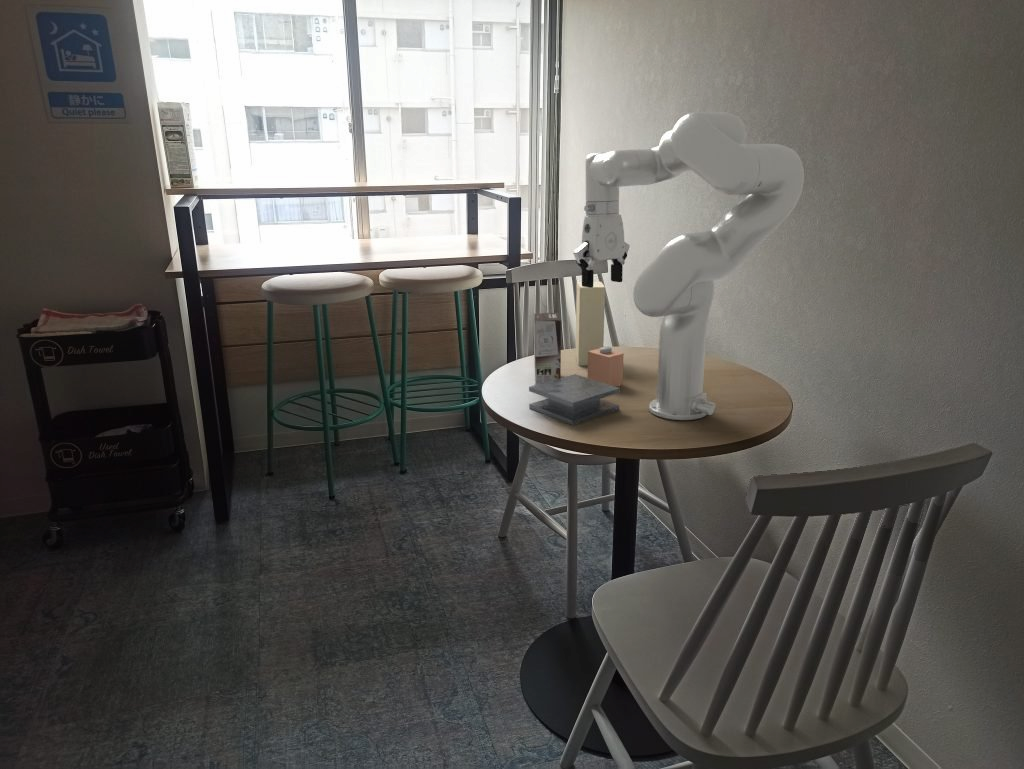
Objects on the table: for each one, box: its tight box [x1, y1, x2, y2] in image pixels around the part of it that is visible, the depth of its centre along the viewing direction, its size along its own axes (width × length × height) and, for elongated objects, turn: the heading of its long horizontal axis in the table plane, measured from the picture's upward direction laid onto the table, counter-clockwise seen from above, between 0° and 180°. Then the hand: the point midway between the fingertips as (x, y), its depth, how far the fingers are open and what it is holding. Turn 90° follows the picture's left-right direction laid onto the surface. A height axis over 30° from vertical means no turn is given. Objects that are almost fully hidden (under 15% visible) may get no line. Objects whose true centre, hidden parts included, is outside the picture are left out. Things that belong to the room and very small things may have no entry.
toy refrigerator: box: [575, 281, 606, 367], centre depth 191 cm, size 8×7×21 cm
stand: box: [528, 373, 621, 426], centre depth 159 cm, size 14×14×5 cm
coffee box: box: [533, 312, 562, 385], centre depth 178 cm, size 9×6×16 cm
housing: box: [587, 346, 625, 387], centre depth 175 cm, size 7×5×9 cm
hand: (602, 284), depth 169 cm, fingers open, 9 cm apart
